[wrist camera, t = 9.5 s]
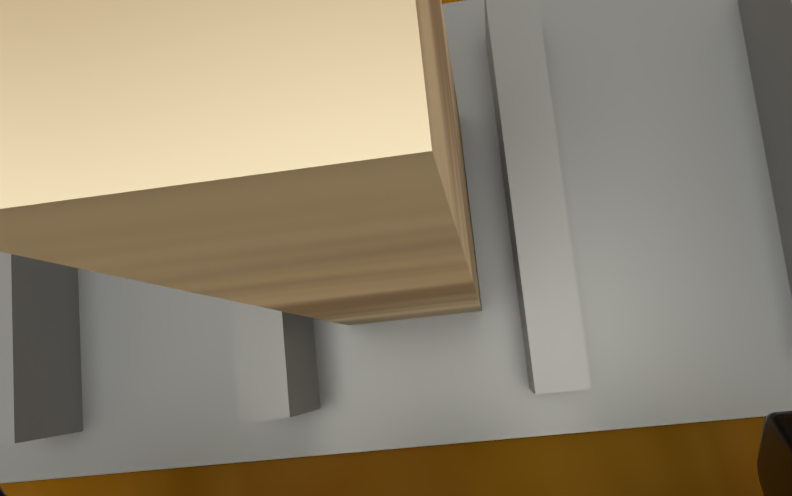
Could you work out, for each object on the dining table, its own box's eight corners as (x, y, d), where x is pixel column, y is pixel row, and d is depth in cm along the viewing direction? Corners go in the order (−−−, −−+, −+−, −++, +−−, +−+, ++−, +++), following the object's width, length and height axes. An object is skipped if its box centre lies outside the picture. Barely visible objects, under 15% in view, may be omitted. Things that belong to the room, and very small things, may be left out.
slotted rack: (958, 396, 15) (1071, 405, 12) (-23, 482, 18) (-129, 507, 15) (862, -50, 17) (942, -137, 14) (-28, 88, 20) (-124, 38, 17)
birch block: (482, 310, 16) (430, 150, 4) (348, 325, 17) (-123, 225, 4) (458, 115, 17) (349, -592, 4) (330, 133, 17) (-118, -474, 5)
